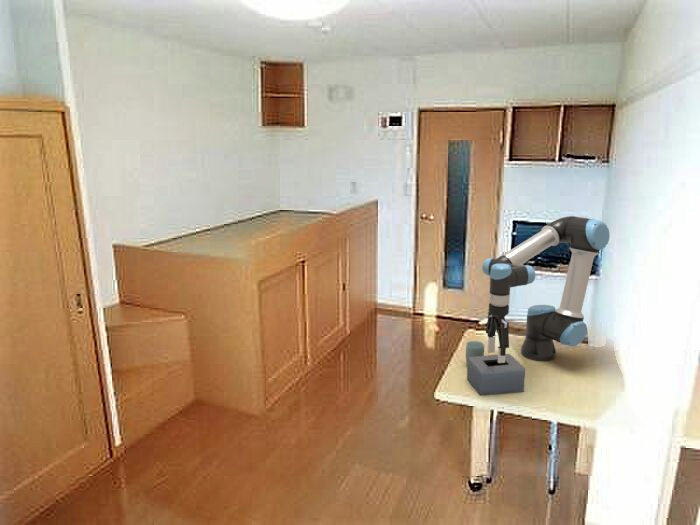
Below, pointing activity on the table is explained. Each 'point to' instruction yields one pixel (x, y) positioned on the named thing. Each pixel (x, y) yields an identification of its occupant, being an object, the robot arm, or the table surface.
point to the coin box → (495, 375)
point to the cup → (474, 349)
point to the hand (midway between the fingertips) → (496, 357)
